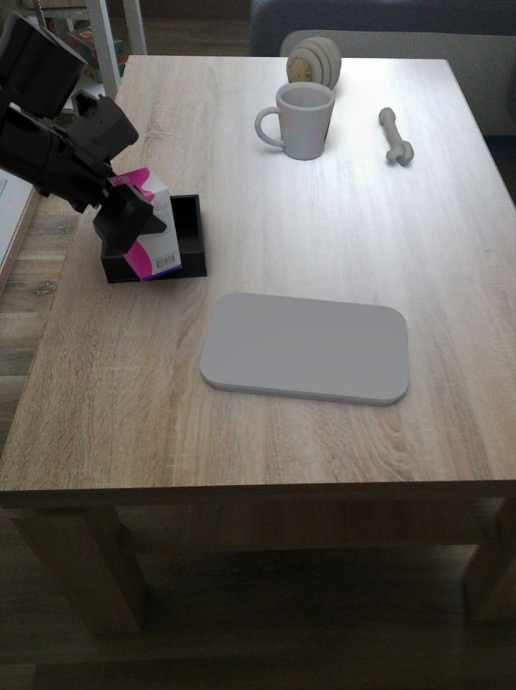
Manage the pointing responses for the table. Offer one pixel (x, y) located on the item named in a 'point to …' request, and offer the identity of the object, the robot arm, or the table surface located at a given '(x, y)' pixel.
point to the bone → (395, 139)
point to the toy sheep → (315, 62)
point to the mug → (300, 119)
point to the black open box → (188, 244)
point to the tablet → (306, 349)
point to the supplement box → (152, 249)
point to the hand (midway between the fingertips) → (153, 216)
